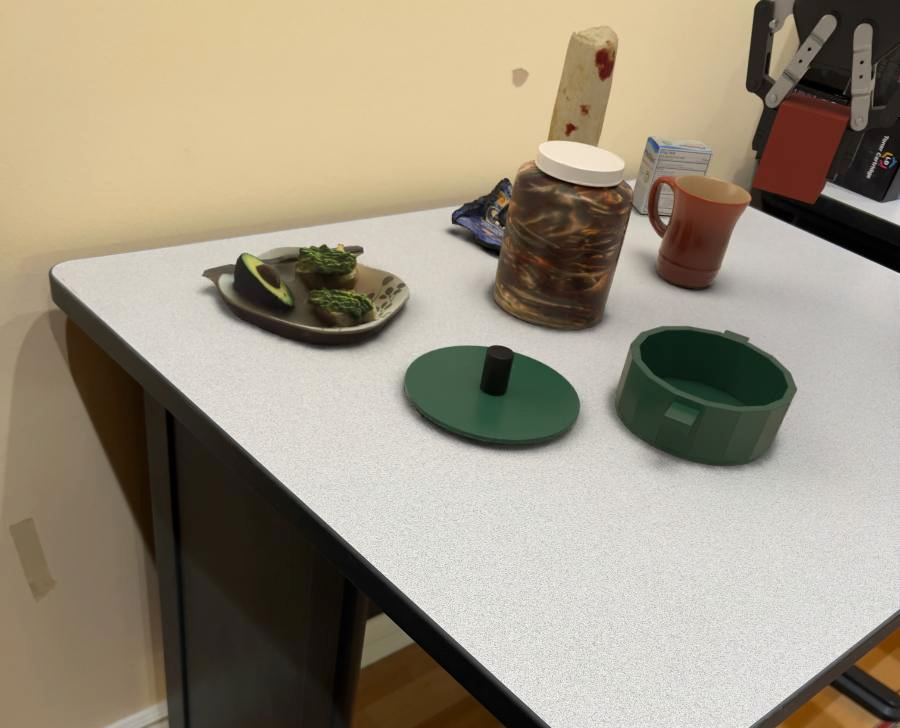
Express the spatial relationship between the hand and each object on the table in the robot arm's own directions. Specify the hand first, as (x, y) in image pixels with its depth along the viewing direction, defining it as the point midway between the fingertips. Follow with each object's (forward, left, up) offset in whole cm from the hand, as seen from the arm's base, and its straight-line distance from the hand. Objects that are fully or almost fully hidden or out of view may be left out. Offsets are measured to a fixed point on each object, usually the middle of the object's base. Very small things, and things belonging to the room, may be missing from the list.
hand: (795, 167), depth 70 cm
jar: (+20, -7, -21) cm, 30 cm away
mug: (+12, -27, -21) cm, 36 cm away
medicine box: (+20, -47, -21) cm, 55 cm away
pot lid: (+16, +15, -20) cm, 30 cm away
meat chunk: (0, 0, -2) cm, 2 cm away
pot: (0, +5, -21) cm, 21 cm away
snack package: (+32, -20, -21) cm, 43 cm away
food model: (+32, -39, -21) cm, 55 cm away
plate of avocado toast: (+38, +11, -21) cm, 45 cm away
